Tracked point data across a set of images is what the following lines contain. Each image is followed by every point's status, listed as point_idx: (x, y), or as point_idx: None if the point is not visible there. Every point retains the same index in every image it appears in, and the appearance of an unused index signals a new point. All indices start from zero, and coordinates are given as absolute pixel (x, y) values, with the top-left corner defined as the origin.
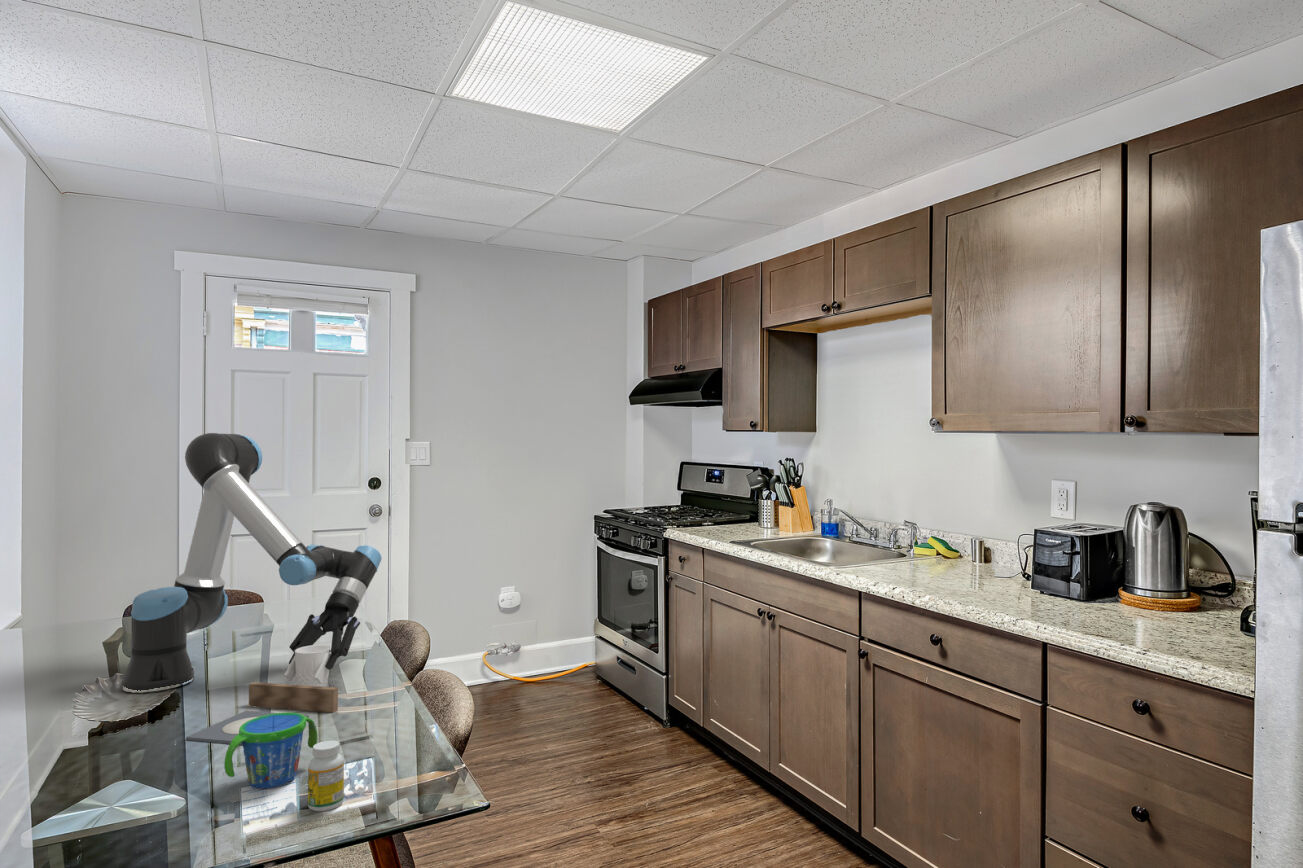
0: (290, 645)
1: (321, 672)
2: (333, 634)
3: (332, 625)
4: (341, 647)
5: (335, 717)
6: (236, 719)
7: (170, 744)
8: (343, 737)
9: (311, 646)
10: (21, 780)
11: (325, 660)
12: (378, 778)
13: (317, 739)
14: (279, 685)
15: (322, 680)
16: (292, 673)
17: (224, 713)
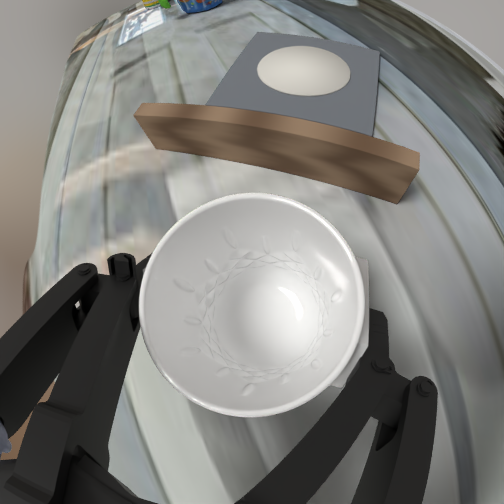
0: (435, 394)
1: None
2: (87, 378)
3: (82, 480)
4: (77, 275)
5: None
6: (354, 94)
7: (388, 49)
8: (143, 65)
9: (288, 401)
10: (446, 28)
11: None
12: (120, 29)
13: (159, 2)
14: (309, 125)
15: None
16: None
17: (419, 149)
